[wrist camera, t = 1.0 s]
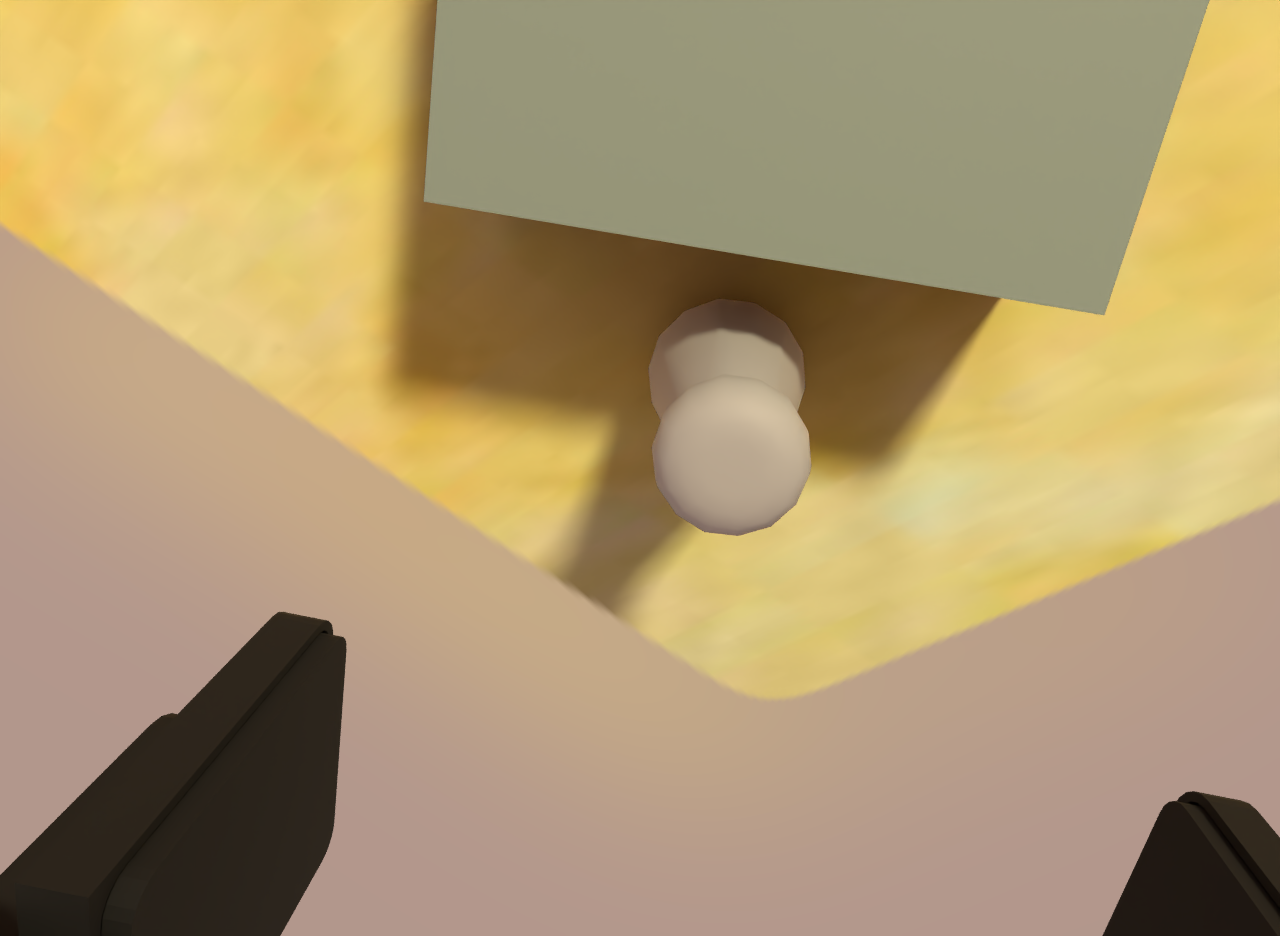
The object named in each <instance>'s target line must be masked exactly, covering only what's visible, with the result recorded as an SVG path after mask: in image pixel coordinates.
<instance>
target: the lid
mask: <svg viewBox="0 0 1280 936" xmlns="http://www.w3.org/2000/svg"><path fill="white" fill-rule="evenodd" d="M1208 3H1209V0H437V14H436V29H435V44H434V58H433V73H432V88H431V102H430V117H429V132H428V146H427V161H426V176H425V190H424V202H430V203H436V204H442V205H448V206H454V207H460V208H465V209H471V210H477V211H483V212H489V213H495V214H501V215H507V216H513V217H519V218H525V219H531V220H537V221H543V222H549V223H555V224H561V225H567V226H573V227H579V228H585V229H591V230H597V231H603V232H609V233H615V234H621V235H627V236H633V237H639V238H645V239H651V240H657V241H663V242H669V243H675V244H681V245H687V246H693V247H699V248H705V249H711V250H717V251H723V252H729V253H735V254H741V255H747V256H753V257H759V258H765V259H771V260H777V261H783V262H789V263H795V264H801V265H807V266H813V267H819V268H825V269H831V270H837V271H843V272H848V273H854V274H860V275H866V276H872V277H878V278H884V279H890V280H896V281H902V282H908V283H914V284H920V285H926V286H932V287H938V288H944V289H950V290H956V291H962V292H968V293H974V294H980V295H986V296H992V297H998V298H1004V299H1010V300H1016V301H1022V302H1028V303H1034V304H1040V305H1046V306H1052V307H1058V308H1064V309H1070V310H1076V311H1082V312H1088V313H1094V314H1100V315H1104V314H1105V311H1106V308H1107V305H1108V302H1109V299H1110V296H1111V293H1112V290H1113V287H1114V284H1115V281H1116V278H1117V275H1118V272H1119V269H1120V266H1121V263H1122V260H1123V257H1124V254H1125V251H1126V248H1127V245H1128V242H1129V239H1130V236H1131V234H1132V231H1133V228H1134V225H1135V222H1136V219H1137V216H1138V213H1139V210H1140V207H1141V204H1142V201H1143V198H1144V195H1145V192H1146V189H1147V186H1148V183H1149V180H1150V177H1151V174H1152V171H1153V168H1154V165H1155V162H1156V159H1157V156H1158V153H1159V150H1160V147H1161V144H1162V141H1163V138H1164V135H1165V132H1166V129H1167V126H1168V123H1169V120H1170V117H1171V114H1172V111H1173V108H1174V105H1175V102H1176V99H1177V96H1178V93H1179V90H1180V87H1181V84H1182V81H1183V78H1184V75H1185V72H1186V69H1187V66H1188V63H1189V60H1190V57H1191V54H1192V51H1193V48H1194V45H1195V42H1196V39H1197V36H1198V33H1199V30H1200V27H1201V24H1202V21H1203V18H1204V15H1205V12H1206V9H1207V6H1208Z"/></svg>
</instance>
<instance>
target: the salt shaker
mask: <svg viewBox="0 0 1280 936" xmlns="http://www.w3.org/2000/svg"><path fill="white" fill-rule="evenodd" d="M648 370H649V380H650V390H651V399H652V404H653V406H654V408H655V410H656V412H657V414H658V416H659V418H660V420H661V422H660V425H659V427H658V430H657V433H656V436H655V439H654V442H653V445H652V455H653V463H654V472H655V481H656V484H657V487H658V489H659V490H660V491H661V493H662V494H663V496H664V497H665V499H666V500H667V502H668V503H669V505H670V506H671V508H672V509H673V510H674V512H675V513H676V515H678V516H680V517H681V518H683V519H684V520H686V521H688V522H689V523H691V524H693V525H694V526H696V527H697V528H699V529H701V530H702V531H704V532H709V533H718V534H727V535H736V536H739V535H743V534H746V533H750V532H753V531H757V530H760V529H764V528H767V527H771V526H772V525H773V524H774V523H775V522H777V521H778V520H779V519H780V518H781V517H782V516H783V515H784V514H786V513H787V512H788V511H789V510H790V509H791V508H792V507H794V506H795V505H796V503H797V501H798V499H799V496H800V494H801V492H802V490H803V488H804V485H805V483H806V481H807V479H808V476H809V474H810V470H811V456H810V443H809V432H808V430H807V428H806V426H805V425H804V423H803V421H802V419H801V418H800V416H799V414H798V413H797V411H798V408H799V405H800V402H801V399H802V396H803V393H804V390H805V373H804V359H803V351H802V350H801V348H800V346H799V345H798V343H797V341H796V340H795V338H794V336H793V335H792V333H791V331H790V329H789V328H788V326H787V324H786V323H785V322H784V321H783V320H781V319H779V318H778V317H776V316H775V315H773V314H772V313H770V312H768V311H767V310H765V309H764V308H762V307H761V306H759V305H757V304H756V303H754V302H745V301H736V300H728V299H716V300H713V301H711V302H708V303H705V304H702V305H699V306H697V307H694V308H691V309H688V310H686V311H684V312H683V313H682V314H681V315H680V316H679V317H678V318H677V319H676V320H675V321H674V322H673V323H672V324H671V325H670V326H669V327H668V328H667V329H666V330H665V331H664V332H663V333H661V334H660V335H659V338H658V341H657V344H656V347H655V350H654V353H653V356H652V359H651V362H650V365H649V368H648Z"/></svg>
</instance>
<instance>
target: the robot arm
mask: <svg viewBox="0 0 1280 936" xmlns="http://www.w3.org/2000/svg"><path fill="white" fill-rule="evenodd" d="M345 662H346V641H345V639H344V637H340V636H335V635H333V629H332V624H331V623H330V622H329V621H327V620H321V619H316V618H311V617H306V616H301V615H296V614H291V613H286V612H278V613H277V614H275V615H274V616H273V617H272V618H271V619H270V620H269V621H268V622H267V623H266V624H265V625H264V626H263V627H262V628H261V629H260V630H259V631H258V632H257V633H256V634H255V635H254V636H253V637H252V638H251V639H250V640H249V641H248V642H247V643H246V644H245V645H244V646H243V647H242V649H241V650H240V651H239V652H238V653H237V654H236V655H235V656H234V657H233V658H232V659H231V660H230V661H229V662H228V663H227V664H226V665H225V666H224V667H223V668H222V669H221V670H220V671H219V672H218V673H217V674H216V675H215V676H214V677H213V679H211V680H210V682H209V683H208V684H207V685H206V686H205V687H204V688H203V689H202V690H201V691H200V692H199V693H198V694H197V695H196V696H195V697H194V698H193V699H192V700H191V701H190V702H189V703H188V704H187V705H186V706H185V707H184V709H182V710H181V712H180V713H178V714H173V713H171V714H167V715H164V716H161V717H160V718H159V719H157V720H156V721H155V722H153V723H152V724H151V725H150V726H149V727H148V728H147V729H146V730H145V731H144V732H143V733H142V734H141V735H140V736H139V737H138V738H137V739H136V740H135V741H134V742H133V743H132V744H131V745H130V746H129V747H128V748H127V749H126V750H125V751H124V752H123V753H122V754H121V755H120V756H119V757H118V758H117V759H116V760H115V761H114V762H113V763H112V764H111V765H110V766H109V767H108V768H107V769H106V770H105V771H104V772H103V773H102V774H101V775H100V776H99V777H98V778H97V779H96V780H95V781H94V782H93V783H92V784H91V785H90V786H89V787H88V788H87V789H86V790H85V791H84V792H83V793H82V794H81V795H80V796H79V797H78V798H77V799H76V800H75V801H74V802H73V803H72V804H71V805H70V806H69V807H68V808H67V809H66V810H65V811H64V812H63V813H62V814H61V815H60V816H59V817H58V818H57V819H56V820H55V821H54V822H53V823H52V824H51V825H50V826H49V827H48V828H47V829H46V830H45V831H44V832H43V833H42V834H41V835H40V836H39V837H38V838H37V839H36V840H35V841H34V842H33V843H32V844H31V845H30V846H29V847H28V848H27V849H26V850H25V851H24V852H23V853H22V854H21V855H20V856H19V857H18V858H17V859H16V860H15V861H14V862H13V863H12V864H11V865H10V866H9V867H8V868H7V869H6V870H5V871H4V872H3V873H2V874H1V875H0V936H280V935H281V934H282V932H283V930H284V928H285V926H286V925H287V923H288V921H289V919H290V918H291V916H292V914H293V912H294V910H295V909H296V907H297V905H298V903H299V901H300V900H301V898H302V896H303V894H304V893H305V891H306V889H307V887H308V885H309V884H310V882H311V880H312V878H313V876H314V875H315V873H316V871H317V869H318V868H319V866H320V864H321V862H322V860H323V858H324V856H325V854H326V852H327V849H328V847H329V843H330V840H331V837H332V832H333V827H334V817H335V803H336V789H337V774H338V761H339V747H340V732H341V719H342V703H343V690H344V676H345ZM1103 936H1280V837H1279V836H1278V835H1277V834H1276V833H1275V831H1274V830H1273V829H1272V828H1271V827H1270V826H1269V824H1268V823H1267V822H1266V821H1265V819H1264V818H1263V817H1262V816H1261V815H1260V814H1259V812H1258V811H1257V810H1256V809H1255V808H1253V807H1252V806H1251V805H1250V804H1249V803H1246V802H1243V801H1240V800H1235V799H1230V798H1225V797H1220V796H1214V795H1210V794H1204V793H1199V792H1194V791H1192V792H1186V793H1185V794H1183V795H1182V796H1181V797H1179V799H1178V800H1177V801H1172V802H1168V803H1167V804H1166V805H1165V806H1164V807H1163V808H1162V810H1161V812H1160V814H1159V816H1158V818H1157V820H1156V822H1155V824H1154V827H1153V829H1152V831H1151V833H1150V835H1149V837H1148V840H1147V842H1146V844H1145V846H1144V848H1143V850H1142V852H1141V855H1140V857H1139V859H1138V861H1137V863H1136V865H1135V867H1134V869H1133V872H1132V874H1131V876H1130V878H1129V880H1128V882H1127V885H1126V887H1125V889H1124V891H1123V893H1122V895H1121V897H1120V900H1119V902H1118V904H1117V906H1116V908H1115V910H1114V912H1113V915H1112V917H1111V919H1110V921H1109V923H1108V925H1107V927H1106V930H1105V932H1104V934H1103Z"/></svg>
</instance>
